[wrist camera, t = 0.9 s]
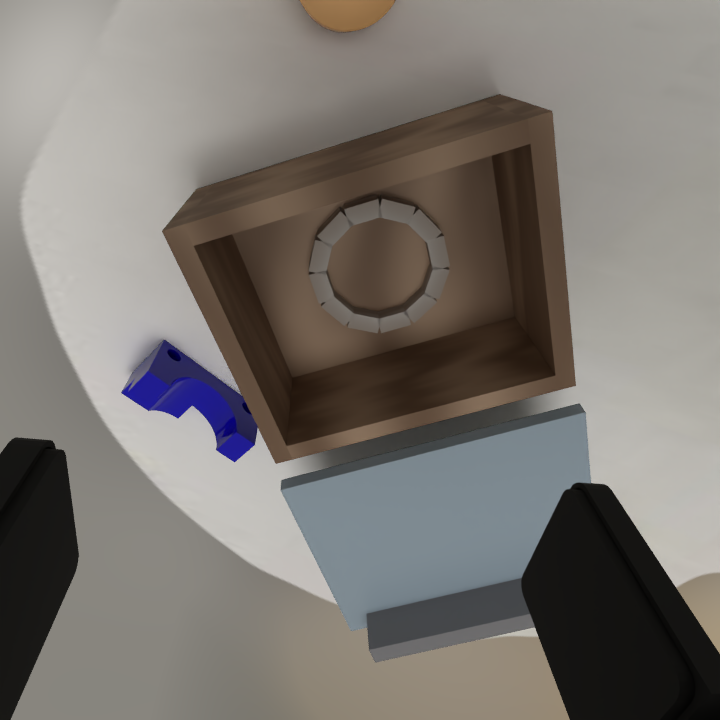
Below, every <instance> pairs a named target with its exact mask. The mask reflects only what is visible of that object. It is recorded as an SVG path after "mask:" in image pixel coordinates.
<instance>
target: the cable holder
mask: <svg viewBox="0 0 720 720" xmlns="http://www.w3.org/2000/svg"><path fill="white" fill-rule="evenodd" d="M121 393H122V394H124V395H125V396H127V397H128V398H130V399H131V400H133V401H134V402H136V403H137V404H139V405H140V406H142V407H144V408H145V409H147V410H148V411H151V410H157V411H163V412H166V413H168V414H171V415H173V416H175V417H176V418H179V417H180V416H181V415H182V414H183V413H184V412H185V411H187V410H188V409H189V408H190V407H191V406H194V407H195V408H196V409H197V410H199V411H200V412H201V413H202V414H203V415H204V417H205V418H206V419H207V420H208V422H209V423H210V425H211V427H212V428H213V431H214V433H215V436H216V441H217V448H216V450H217V451H218V452H220V453H221V454H223V455H224V456H226V457H227V458H229V459H230V460H232V461H234V462H235V461H237V460H238V459H239V458H240V457H241V456H242V455H244V454H245V453H246V452H247V451H248V450H249V449H250V448H252V447H253V446H254V445H255V441H256V434H257V428H258V426H257V424H256V422H255V420H254V418H253V416H252V414H251V412H250V410H249V408H248V406H247V404H246V402H245V400H244V398H243V396H241V395H240V394H238V393H237V392H236V391H234V390H233V389H232V388H230V387H229V386H227V385H226V384H225V383H223V382H222V381H221V380H219V379H218V378H216V377H215V376H214V375H212V374H211V373H210V372H208V371H207V370H206V369H204V368H203V367H201V366H200V365H199V364H197V363H196V362H195V361H193V360H192V359H190V358H189V357H188V356H186V355H185V354H184V353H182V352H181V351H179V350H178V349H177V348H175V347H174V346H173V345H171V344H170V343H168V342H167V341H166V340H163V341H162V342H161V343H160V344H159V345H158V347H157V348H156V349H155V350H154V351H153V352H152V353H151V354H150V355H149V356H148V357H147V358H146V359H145V360H144V361H143V362H142V363H141V364H140V365H139V366H138V367H137V368H136V370H135V371H134V372H133V373H132V374H131V376H130V378H129V380H128V381H127V383H126V385H125V387H124V389H123V390H122V392H121Z"/></svg>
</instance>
